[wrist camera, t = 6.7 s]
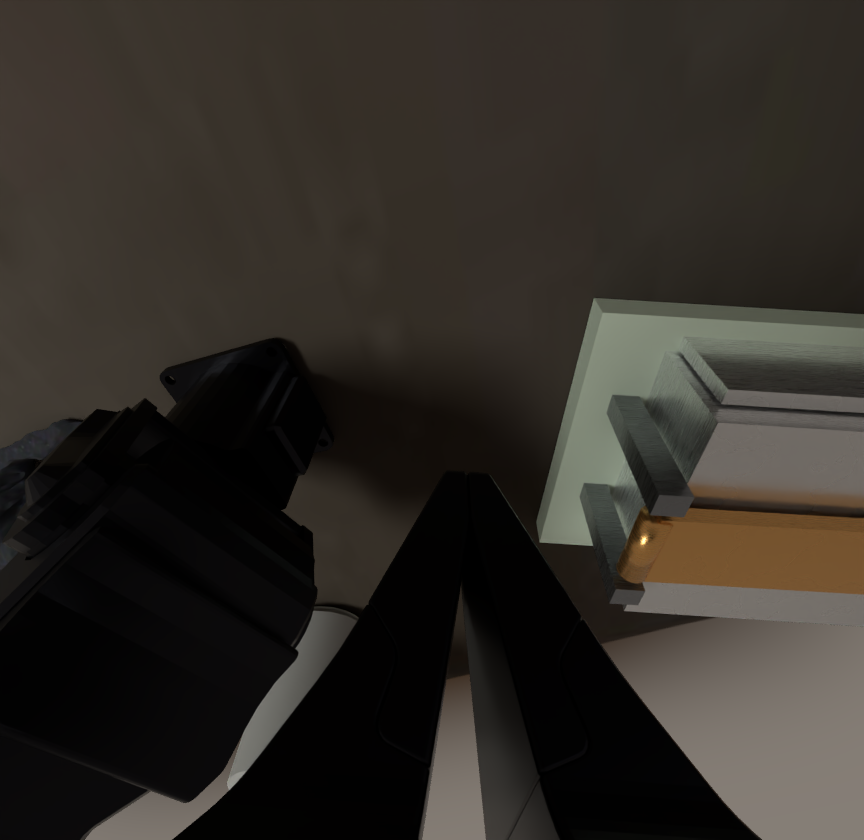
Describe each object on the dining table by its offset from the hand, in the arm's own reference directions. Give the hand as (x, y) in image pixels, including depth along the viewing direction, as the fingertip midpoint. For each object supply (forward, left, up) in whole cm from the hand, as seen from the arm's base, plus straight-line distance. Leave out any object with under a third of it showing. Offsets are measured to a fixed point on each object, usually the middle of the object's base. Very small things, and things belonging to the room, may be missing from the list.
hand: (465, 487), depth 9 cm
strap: (+11, -13, -6) cm, 18 cm away
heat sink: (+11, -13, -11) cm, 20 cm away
